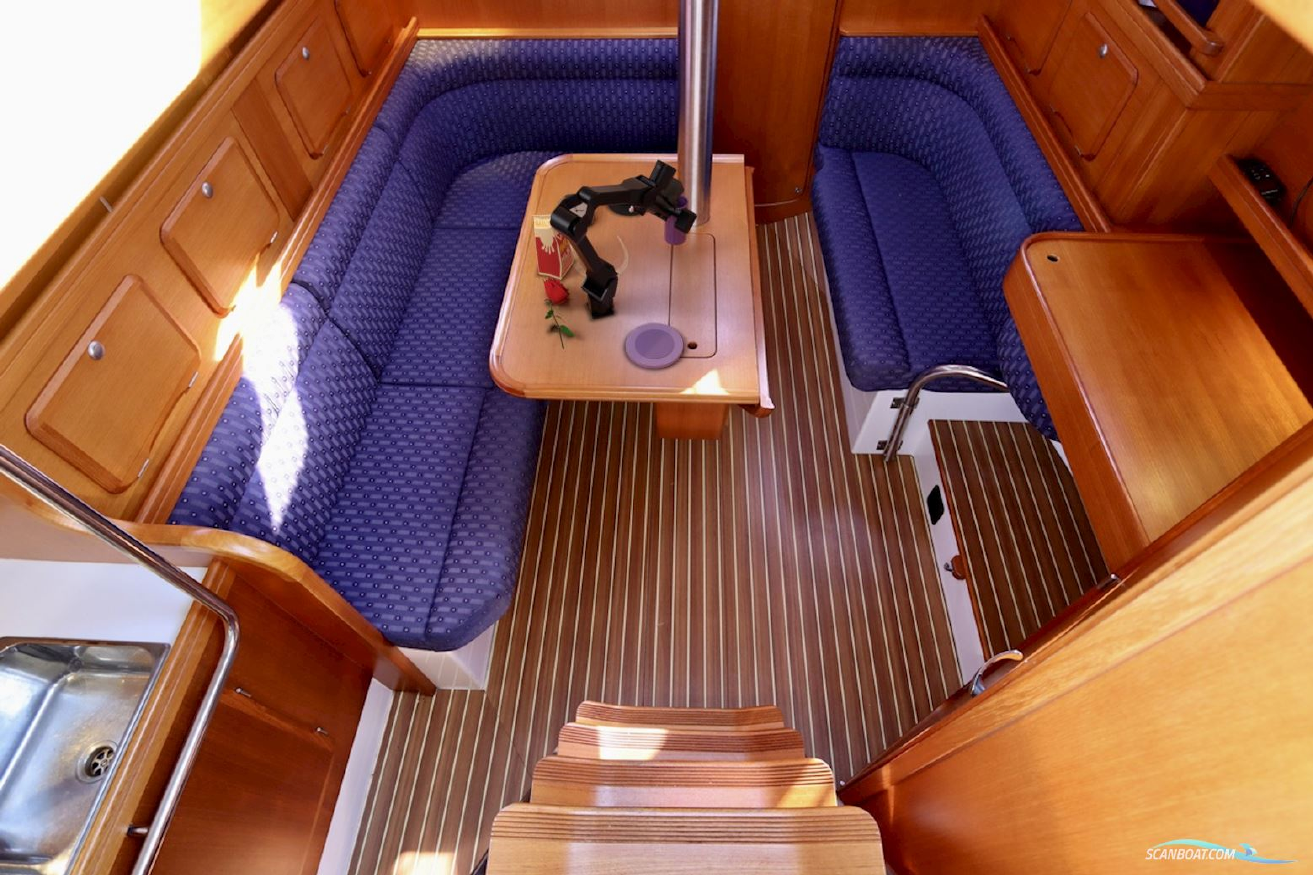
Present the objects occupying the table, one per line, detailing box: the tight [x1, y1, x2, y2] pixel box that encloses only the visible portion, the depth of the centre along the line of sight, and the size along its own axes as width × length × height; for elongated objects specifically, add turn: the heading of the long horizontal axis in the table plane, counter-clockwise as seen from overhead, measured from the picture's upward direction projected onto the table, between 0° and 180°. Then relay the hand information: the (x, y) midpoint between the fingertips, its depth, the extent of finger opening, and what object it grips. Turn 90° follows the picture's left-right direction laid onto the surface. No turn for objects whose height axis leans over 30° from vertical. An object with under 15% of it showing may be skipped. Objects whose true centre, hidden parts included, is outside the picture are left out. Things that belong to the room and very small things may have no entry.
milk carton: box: [530, 213, 575, 281], centre depth 191 cm, size 9×9×20 cm
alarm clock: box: [557, 193, 595, 224], centre depth 212 cm, size 11×5×15 cm
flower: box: [542, 277, 575, 350], centre depth 183 cm, size 9×10×30 cm
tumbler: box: [663, 194, 690, 246], centre depth 193 cm, size 7×7×13 cm
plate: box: [625, 322, 684, 370], centre depth 181 cm, size 16×16×1 cm
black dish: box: [607, 203, 639, 217], centre depth 215 cm, size 15×15×6 cm
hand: (679, 217), depth 193 cm, fingers closed on tumbler, 7 cm apart
